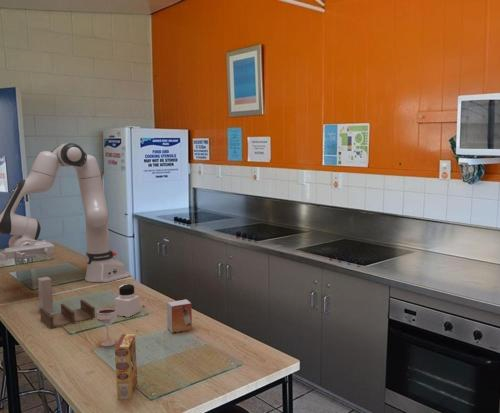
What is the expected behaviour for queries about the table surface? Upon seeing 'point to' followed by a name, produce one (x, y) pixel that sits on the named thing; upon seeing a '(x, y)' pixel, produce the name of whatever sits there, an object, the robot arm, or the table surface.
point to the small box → (179, 316)
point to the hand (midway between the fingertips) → (34, 254)
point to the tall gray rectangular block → (45, 294)
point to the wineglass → (107, 321)
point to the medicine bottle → (127, 301)
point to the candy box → (126, 366)
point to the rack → (68, 315)
